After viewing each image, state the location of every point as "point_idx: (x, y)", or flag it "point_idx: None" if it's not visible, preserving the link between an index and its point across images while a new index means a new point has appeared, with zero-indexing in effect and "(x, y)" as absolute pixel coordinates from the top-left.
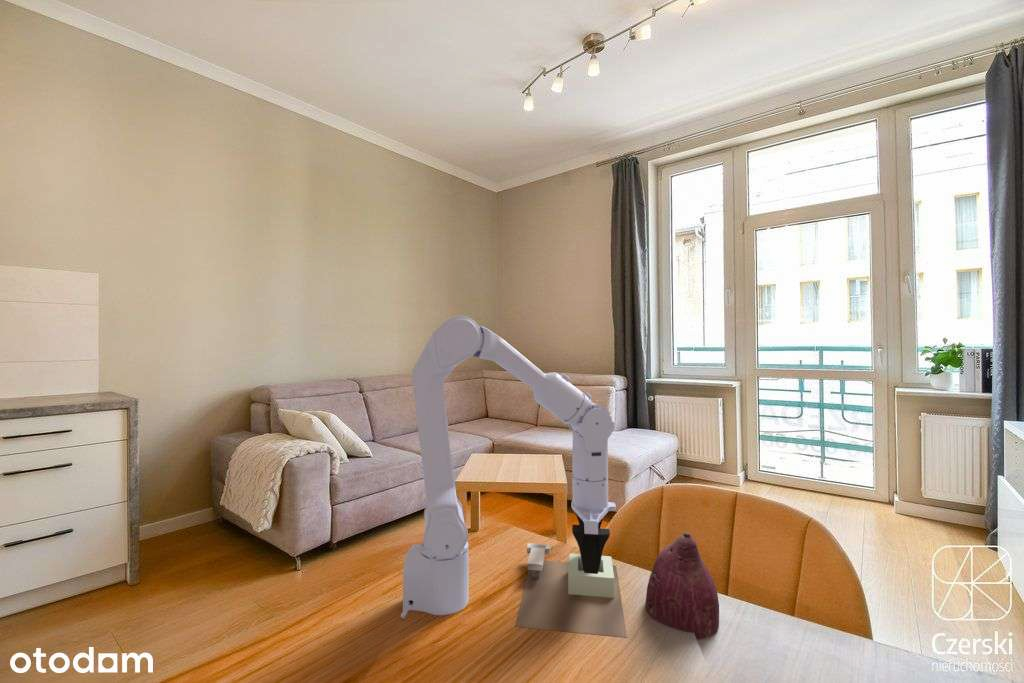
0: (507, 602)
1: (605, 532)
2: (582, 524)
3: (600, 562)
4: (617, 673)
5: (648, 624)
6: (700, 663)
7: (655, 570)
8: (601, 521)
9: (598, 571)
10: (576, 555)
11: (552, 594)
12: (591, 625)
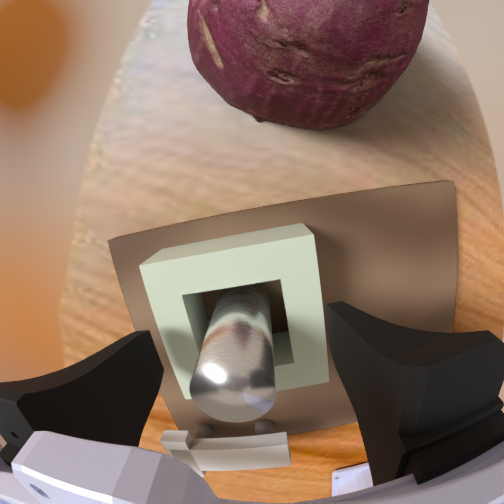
0: (347, 432)
1: (484, 372)
2: (131, 442)
3: (360, 310)
4: (500, 200)
5: (360, 125)
6: (436, 45)
7: (377, 53)
8: (77, 382)
9: (245, 296)
10: (188, 380)
11: (330, 379)
12: (433, 266)
